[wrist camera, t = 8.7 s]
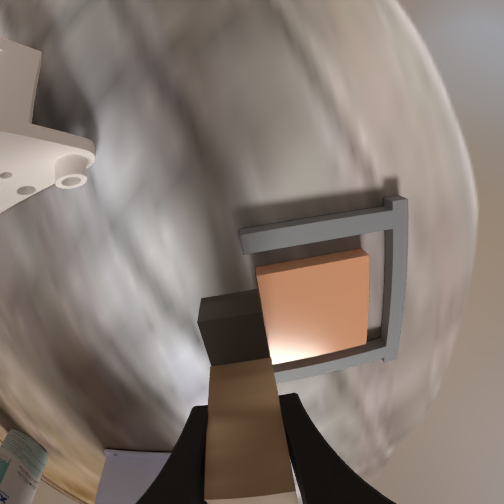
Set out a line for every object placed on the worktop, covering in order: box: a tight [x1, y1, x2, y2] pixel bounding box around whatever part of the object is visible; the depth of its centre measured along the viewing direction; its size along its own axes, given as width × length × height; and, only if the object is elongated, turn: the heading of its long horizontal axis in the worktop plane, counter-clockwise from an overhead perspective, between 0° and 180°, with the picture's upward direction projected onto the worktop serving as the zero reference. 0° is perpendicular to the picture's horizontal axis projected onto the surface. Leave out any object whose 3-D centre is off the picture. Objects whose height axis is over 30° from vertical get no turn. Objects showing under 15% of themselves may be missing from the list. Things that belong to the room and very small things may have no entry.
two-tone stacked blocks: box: [197, 289, 298, 504], centre depth 10 cm, size 2×7×8 cm, turn 9°
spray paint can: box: [0, 429, 48, 504], centre depth 13 cm, size 6×6×20 cm
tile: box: [255, 248, 369, 364], centre depth 17 cm, size 6×6×2 cm
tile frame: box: [239, 196, 408, 383], centre depth 16 cm, size 9×11×1 cm
